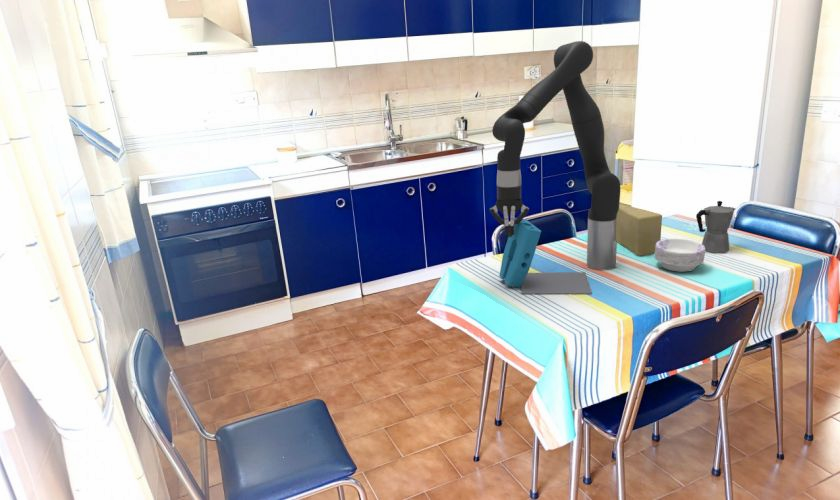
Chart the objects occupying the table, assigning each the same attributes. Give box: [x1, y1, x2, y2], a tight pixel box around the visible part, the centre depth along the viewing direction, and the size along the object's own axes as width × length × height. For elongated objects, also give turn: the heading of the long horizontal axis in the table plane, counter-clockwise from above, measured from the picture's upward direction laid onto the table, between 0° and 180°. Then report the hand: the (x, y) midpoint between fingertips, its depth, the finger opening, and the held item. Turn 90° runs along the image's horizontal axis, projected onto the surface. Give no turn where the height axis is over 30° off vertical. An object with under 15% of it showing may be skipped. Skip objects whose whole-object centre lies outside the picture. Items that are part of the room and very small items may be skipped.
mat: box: [520, 271, 593, 295], centre depth 183 cm, size 22×18×1 cm
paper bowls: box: [654, 238, 706, 273], centre depth 188 cm, size 15×15×8 cm
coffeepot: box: [695, 200, 736, 254], centre depth 199 cm, size 15×9×18 cm, turn 103°
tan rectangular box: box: [616, 202, 663, 257], centre depth 210 cm, size 22×10×15 cm, turn 16°
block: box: [499, 217, 542, 288], centre depth 182 cm, size 12×5×20 cm, turn 14°
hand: (509, 236), depth 181 cm, fingers closed
